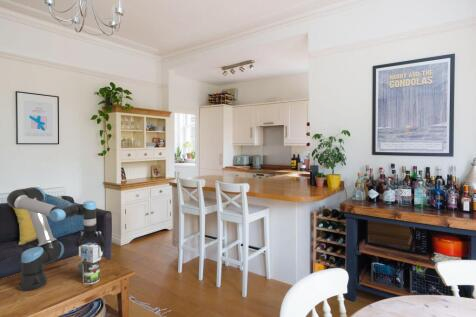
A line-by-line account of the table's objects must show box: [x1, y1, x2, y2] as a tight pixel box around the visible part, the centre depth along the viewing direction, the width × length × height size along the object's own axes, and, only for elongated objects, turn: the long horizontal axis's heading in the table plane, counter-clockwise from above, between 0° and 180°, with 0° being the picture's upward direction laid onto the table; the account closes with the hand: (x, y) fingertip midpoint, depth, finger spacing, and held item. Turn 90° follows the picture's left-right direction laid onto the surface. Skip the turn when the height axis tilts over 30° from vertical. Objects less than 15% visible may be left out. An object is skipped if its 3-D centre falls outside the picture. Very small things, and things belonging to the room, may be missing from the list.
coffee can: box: [81, 260, 101, 285], centre depth 191 cm, size 10×10×14 cm
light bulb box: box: [80, 242, 102, 263], centre depth 190 cm, size 11×7×11 cm, turn 71°
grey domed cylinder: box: [77, 262, 83, 277], centre depth 200 cm, size 5×5×8 cm
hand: (90, 255), depth 190 cm, fingers open, 13 cm apart
